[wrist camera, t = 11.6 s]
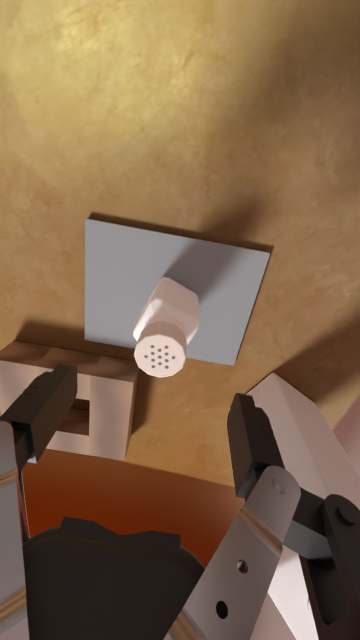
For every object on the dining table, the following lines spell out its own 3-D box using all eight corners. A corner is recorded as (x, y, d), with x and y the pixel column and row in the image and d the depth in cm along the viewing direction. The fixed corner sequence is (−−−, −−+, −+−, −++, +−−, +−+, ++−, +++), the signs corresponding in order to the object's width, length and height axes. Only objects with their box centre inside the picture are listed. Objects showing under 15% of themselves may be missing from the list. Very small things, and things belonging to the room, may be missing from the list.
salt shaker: (163, 272, 23) (145, 315, 14) (200, 294, 23) (205, 348, 15) (143, 307, 24) (116, 365, 16) (179, 326, 25) (171, 392, 16)
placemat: (268, 252, 22) (270, 253, 21) (232, 362, 27) (233, 365, 27) (87, 218, 21) (85, 218, 21) (86, 337, 27) (84, 340, 26)
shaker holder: (140, 362, 28) (133, 382, 24) (131, 435, 33) (124, 460, 30) (14, 340, 27) (-10, 358, 24) (24, 418, 32) (6, 442, 29)
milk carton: (315, 402, 29) (492, 692, 12) (269, 434, 32) (361, 710, 14) (272, 370, 27) (407, 654, 10) (228, 407, 30) (276, 682, 13)
